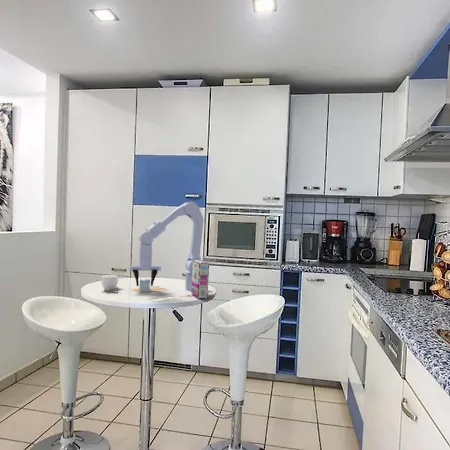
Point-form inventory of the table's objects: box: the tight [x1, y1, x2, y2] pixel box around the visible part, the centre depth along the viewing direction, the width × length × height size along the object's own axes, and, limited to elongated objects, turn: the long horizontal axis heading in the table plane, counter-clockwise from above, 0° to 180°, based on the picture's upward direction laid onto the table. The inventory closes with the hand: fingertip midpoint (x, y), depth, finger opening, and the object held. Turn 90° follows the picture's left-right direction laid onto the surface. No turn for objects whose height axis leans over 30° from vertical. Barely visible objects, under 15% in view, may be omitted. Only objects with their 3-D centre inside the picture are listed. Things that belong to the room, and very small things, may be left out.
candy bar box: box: [190, 260, 210, 300], centre depth 181 cm, size 11×5×16 cm, turn 21°
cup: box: [101, 274, 119, 292], centre depth 190 cm, size 8×10×7 cm
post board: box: [129, 286, 169, 294], centre depth 189 cm, size 12×16×1 cm
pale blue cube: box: [138, 278, 151, 291], centre depth 186 cm, size 5×5×5 cm
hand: (144, 285), depth 186 cm, fingers open, 6 cm apart
